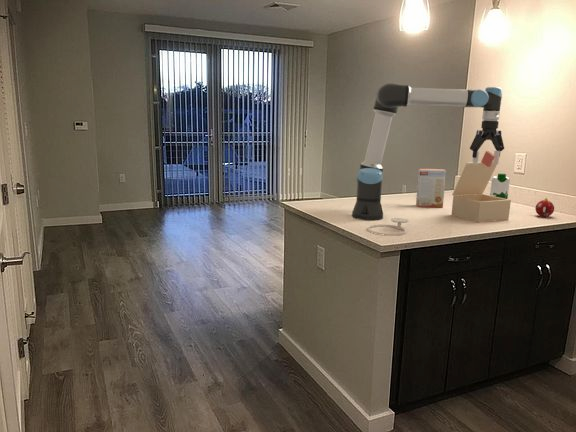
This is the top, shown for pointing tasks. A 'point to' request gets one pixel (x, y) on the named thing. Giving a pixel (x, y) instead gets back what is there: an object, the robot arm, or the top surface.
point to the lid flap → (475, 176)
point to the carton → (481, 207)
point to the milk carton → (500, 186)
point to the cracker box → (430, 188)
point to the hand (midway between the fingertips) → (485, 164)
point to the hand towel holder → (398, 220)
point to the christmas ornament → (544, 208)
